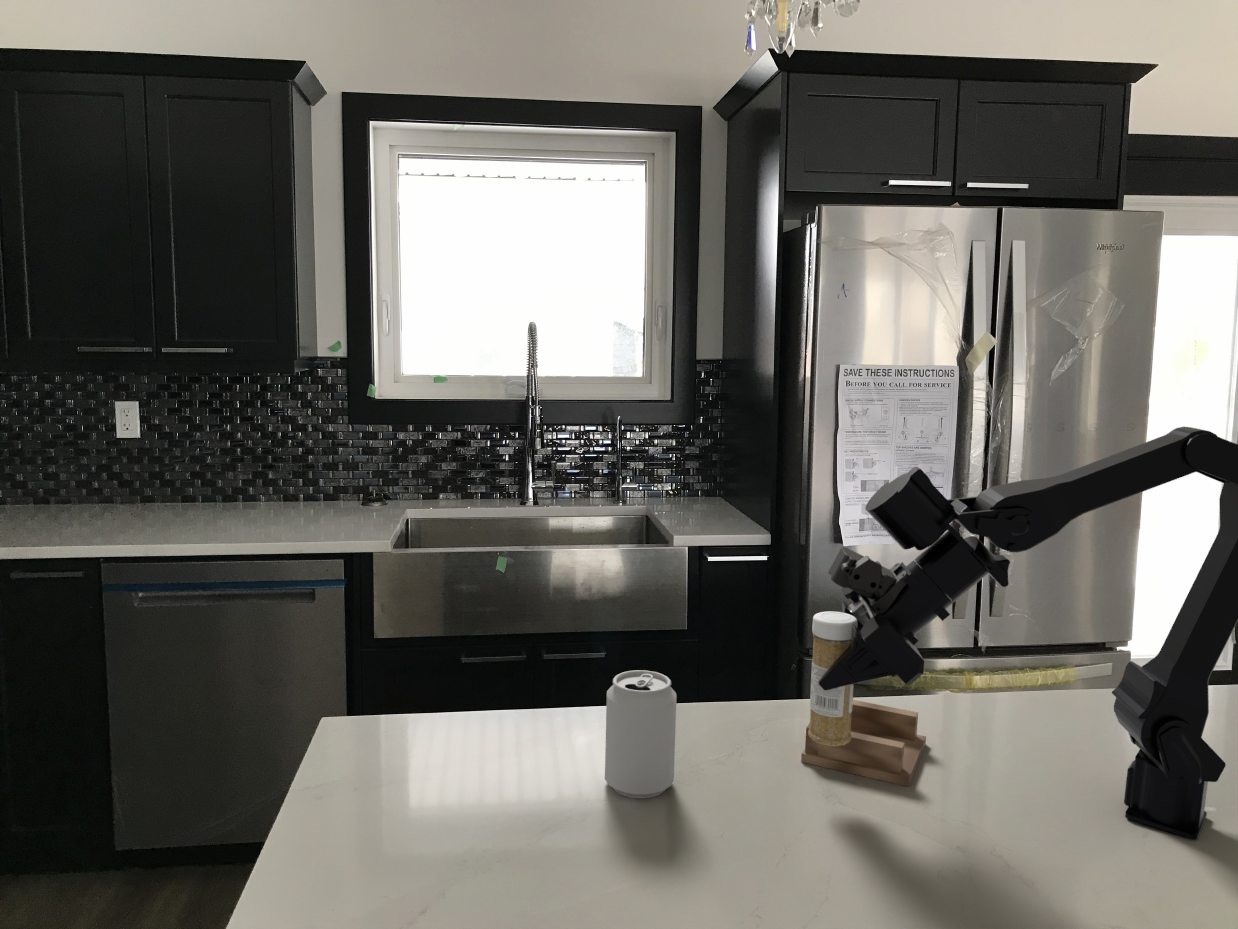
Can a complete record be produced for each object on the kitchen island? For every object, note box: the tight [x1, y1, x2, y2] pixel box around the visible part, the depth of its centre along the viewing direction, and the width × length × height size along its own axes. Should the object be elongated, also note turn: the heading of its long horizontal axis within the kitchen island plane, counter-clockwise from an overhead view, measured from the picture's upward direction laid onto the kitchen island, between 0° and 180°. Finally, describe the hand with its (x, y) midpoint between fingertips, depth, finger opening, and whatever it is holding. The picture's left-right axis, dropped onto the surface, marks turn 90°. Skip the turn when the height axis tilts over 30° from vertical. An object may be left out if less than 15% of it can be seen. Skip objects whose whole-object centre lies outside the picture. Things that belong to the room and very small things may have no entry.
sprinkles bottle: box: [808, 610, 857, 746], centre depth 99 cm, size 5×5×14 cm
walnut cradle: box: [800, 699, 927, 787], centre depth 110 cm, size 12×12×4 cm
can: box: [604, 669, 677, 799], centre depth 100 cm, size 8×8×12 cm
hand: (818, 678), depth 99 cm, fingers closed on sprinkles bottle, 4 cm apart
